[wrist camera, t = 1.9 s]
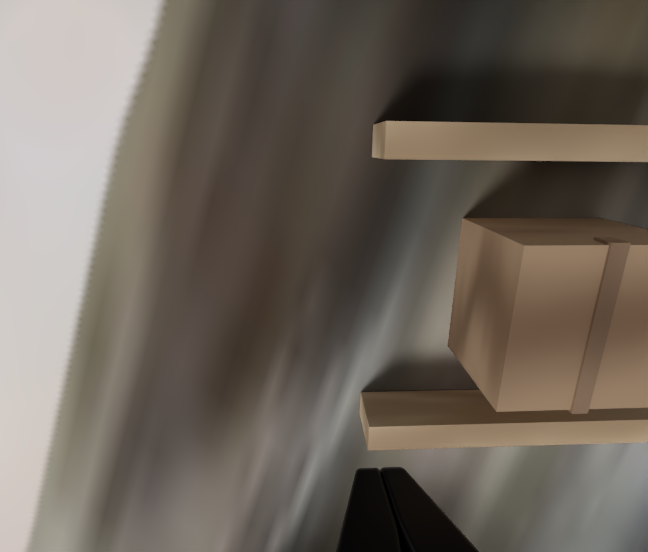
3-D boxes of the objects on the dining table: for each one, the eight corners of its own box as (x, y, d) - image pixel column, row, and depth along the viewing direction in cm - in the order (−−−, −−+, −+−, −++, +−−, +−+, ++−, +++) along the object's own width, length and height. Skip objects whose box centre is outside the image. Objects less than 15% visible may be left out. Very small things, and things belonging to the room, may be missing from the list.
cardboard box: (569, 344, 19) (660, 411, 14) (446, 346, 19) (497, 416, 14) (597, 215, 17) (714, 242, 12) (461, 215, 17) (526, 243, 12)
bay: (780, 403, 21) (857, 444, 18) (359, 413, 20) (369, 459, 17) (896, 133, 17) (1019, 130, 14) (373, 124, 15) (389, 119, 13)
